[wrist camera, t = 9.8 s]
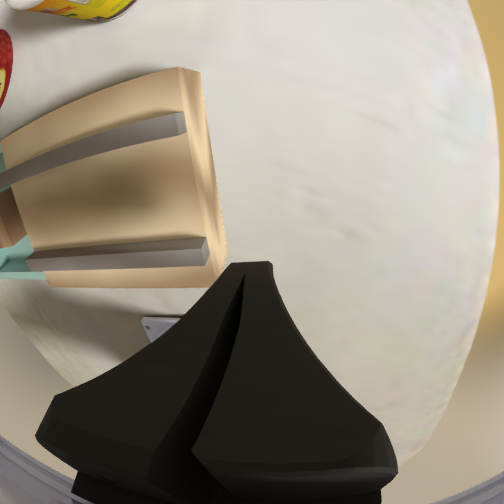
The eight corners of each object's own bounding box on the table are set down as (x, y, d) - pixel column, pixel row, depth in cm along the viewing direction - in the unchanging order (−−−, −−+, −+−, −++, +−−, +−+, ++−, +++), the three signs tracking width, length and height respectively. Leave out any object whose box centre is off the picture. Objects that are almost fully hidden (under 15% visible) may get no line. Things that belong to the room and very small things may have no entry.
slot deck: (228, 252, 20) (213, 300, 16) (75, 260, 22) (42, 295, 17) (200, 72, 14) (168, 64, 10) (35, 128, 16) (-12, 145, 11)
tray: (73, 260, 22) (55, 279, 19) (12, 263, 23) (-4, 278, 21) (34, 129, 16) (8, 138, 13) (-22, 162, 17) (-42, 173, 15)
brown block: (24, 227, 20) (42, 222, 19) (-4, 249, 16) (12, 246, 16) (10, 186, 18) (28, 178, 17) (-21, 205, 14) (-6, 197, 14)
